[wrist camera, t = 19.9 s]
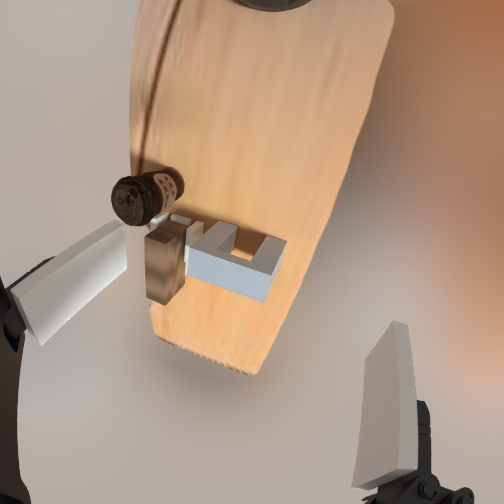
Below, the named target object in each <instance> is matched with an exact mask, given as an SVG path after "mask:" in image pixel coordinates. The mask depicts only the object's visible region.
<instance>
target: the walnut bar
mask: <svg viewBox="0 0 504 504" xmlns="http://www.w3.org/2000/svg"><path fill="white" fill-rule="evenodd" d="M187 228H189V226H187V225H184V224H181V223H178V222H175V221H172V220H168V221H166V222H165V223H163V224H162V225H160V226H159V227H157V228H156V229H155V230H153V231H152V232H150V233H149V234H147V235H146V236H145V276H146V295H147V298H149V299H151V300H153V301H156V302H158V303H160V304H162V305H164V306H166V304H167V303H168V302H169V301H170V300H171V299H172V298H173V297H174V295H175V294H176V293H177V292H178V291H179V290H180V289H181V288H182V287H183V285H184V284H185V269H186V262H184V258H185V244H186V231H187Z"/></svg>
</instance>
